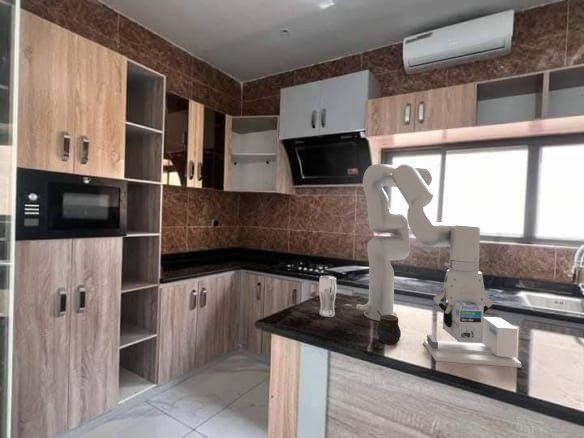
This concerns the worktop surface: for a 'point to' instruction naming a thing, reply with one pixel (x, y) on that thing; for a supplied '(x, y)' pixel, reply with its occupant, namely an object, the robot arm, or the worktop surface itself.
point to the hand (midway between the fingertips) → (461, 326)
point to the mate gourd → (388, 329)
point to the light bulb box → (466, 322)
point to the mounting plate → (466, 353)
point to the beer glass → (327, 295)
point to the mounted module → (500, 337)
